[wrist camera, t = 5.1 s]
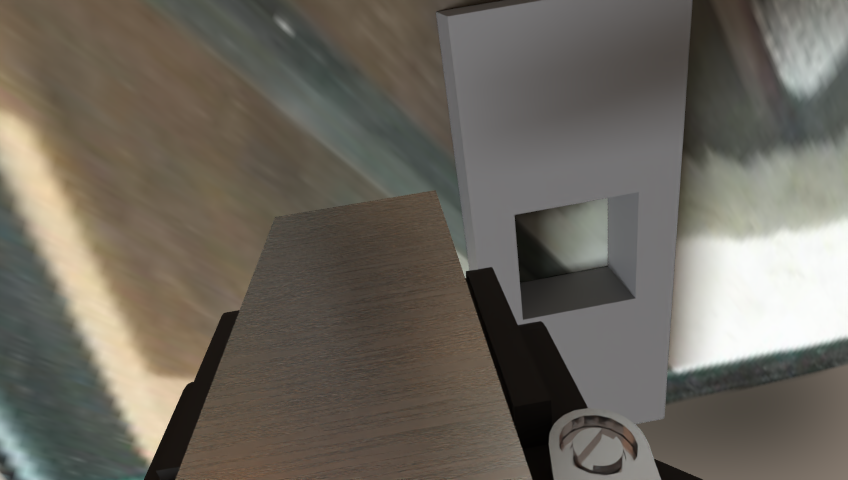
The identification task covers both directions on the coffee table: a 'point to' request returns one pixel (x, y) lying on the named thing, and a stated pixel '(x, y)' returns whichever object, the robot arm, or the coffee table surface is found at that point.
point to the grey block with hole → (577, 170)
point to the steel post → (357, 359)
